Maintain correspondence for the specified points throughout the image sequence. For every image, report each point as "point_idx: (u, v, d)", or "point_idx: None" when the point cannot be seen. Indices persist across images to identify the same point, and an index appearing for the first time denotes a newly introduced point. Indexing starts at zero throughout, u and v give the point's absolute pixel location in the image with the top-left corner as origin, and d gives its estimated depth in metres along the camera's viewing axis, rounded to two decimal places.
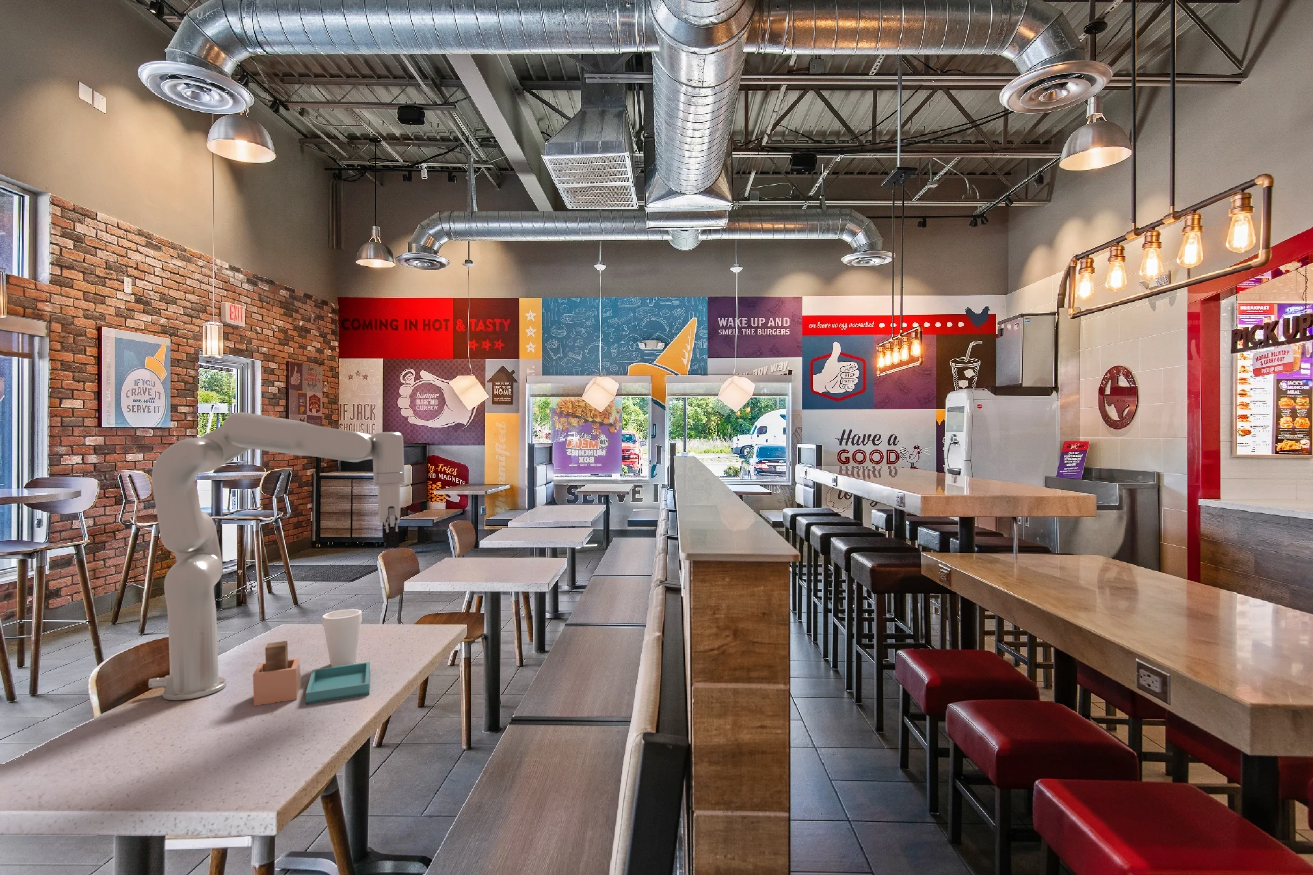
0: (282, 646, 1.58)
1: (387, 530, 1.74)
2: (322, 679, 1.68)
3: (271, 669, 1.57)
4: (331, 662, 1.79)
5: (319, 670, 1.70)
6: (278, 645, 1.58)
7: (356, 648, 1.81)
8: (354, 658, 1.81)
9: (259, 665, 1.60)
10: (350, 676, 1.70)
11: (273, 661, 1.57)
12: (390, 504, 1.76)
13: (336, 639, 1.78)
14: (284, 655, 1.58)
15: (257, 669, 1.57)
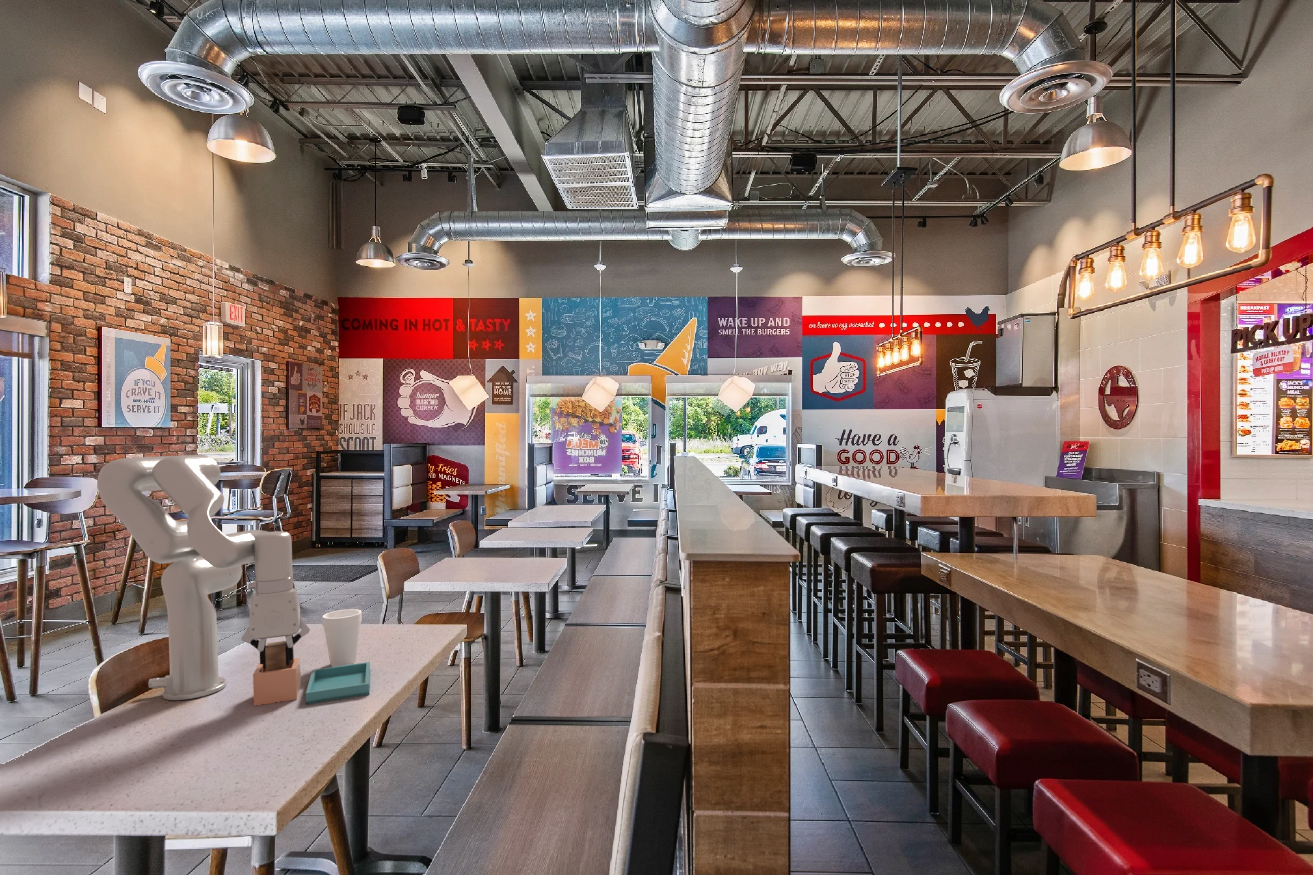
0: (282, 646, 1.58)
1: (293, 645, 1.60)
2: (322, 679, 1.68)
3: (271, 669, 1.57)
4: (331, 662, 1.79)
5: (319, 670, 1.70)
6: (278, 645, 1.58)
7: (356, 648, 1.81)
8: (354, 658, 1.81)
9: (259, 665, 1.60)
10: (350, 676, 1.70)
11: (273, 661, 1.57)
12: (299, 609, 1.61)
13: (336, 639, 1.78)
14: (284, 655, 1.58)
15: (257, 669, 1.57)
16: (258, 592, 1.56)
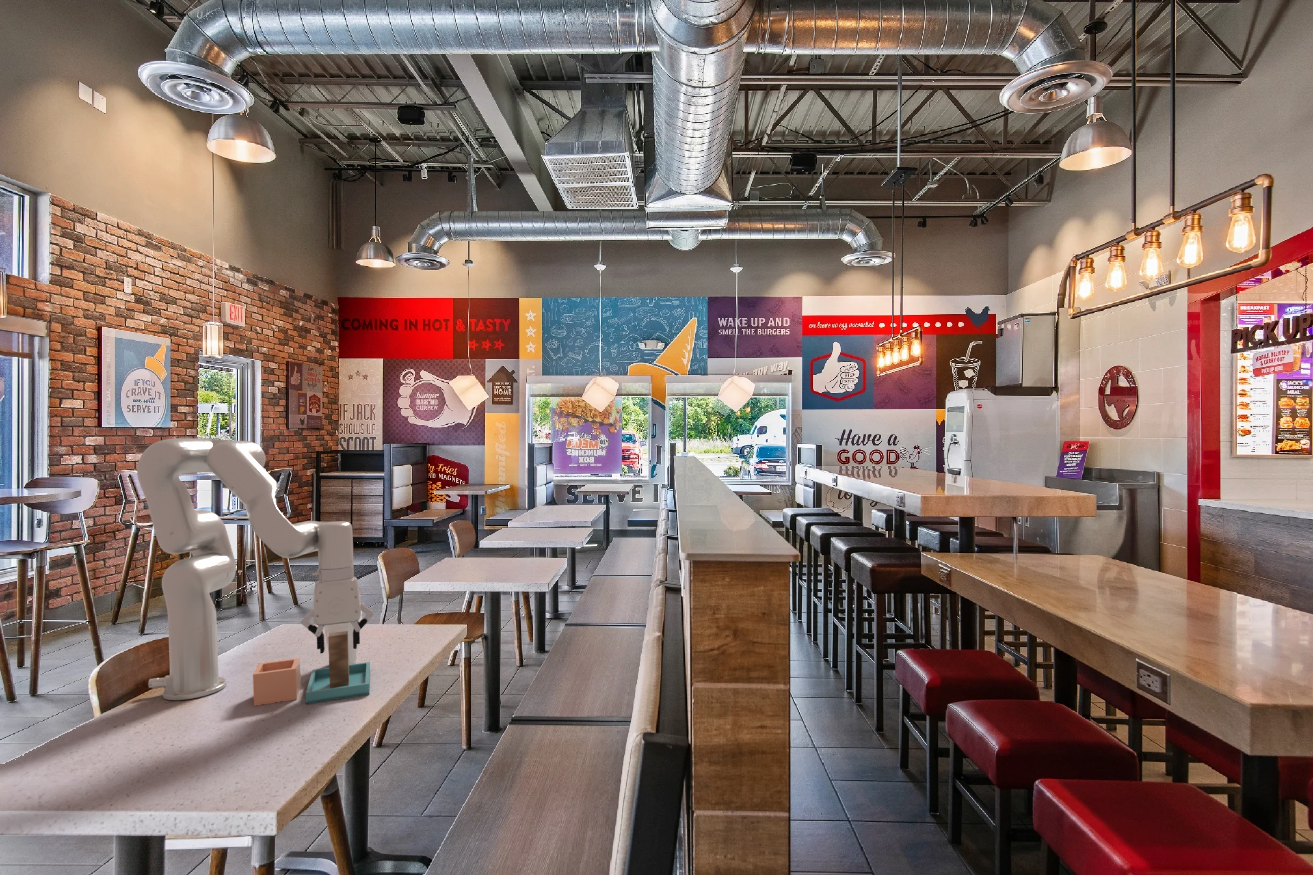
0: (344, 636, 1.63)
1: (360, 629, 1.65)
2: (322, 679, 1.68)
3: (334, 658, 1.62)
4: None
5: (319, 670, 1.70)
6: (340, 635, 1.63)
7: None
8: (354, 658, 1.81)
9: (259, 665, 1.60)
10: (350, 676, 1.70)
11: (335, 650, 1.62)
12: None
13: None
14: (346, 644, 1.63)
15: (257, 669, 1.57)
16: (322, 580, 1.61)
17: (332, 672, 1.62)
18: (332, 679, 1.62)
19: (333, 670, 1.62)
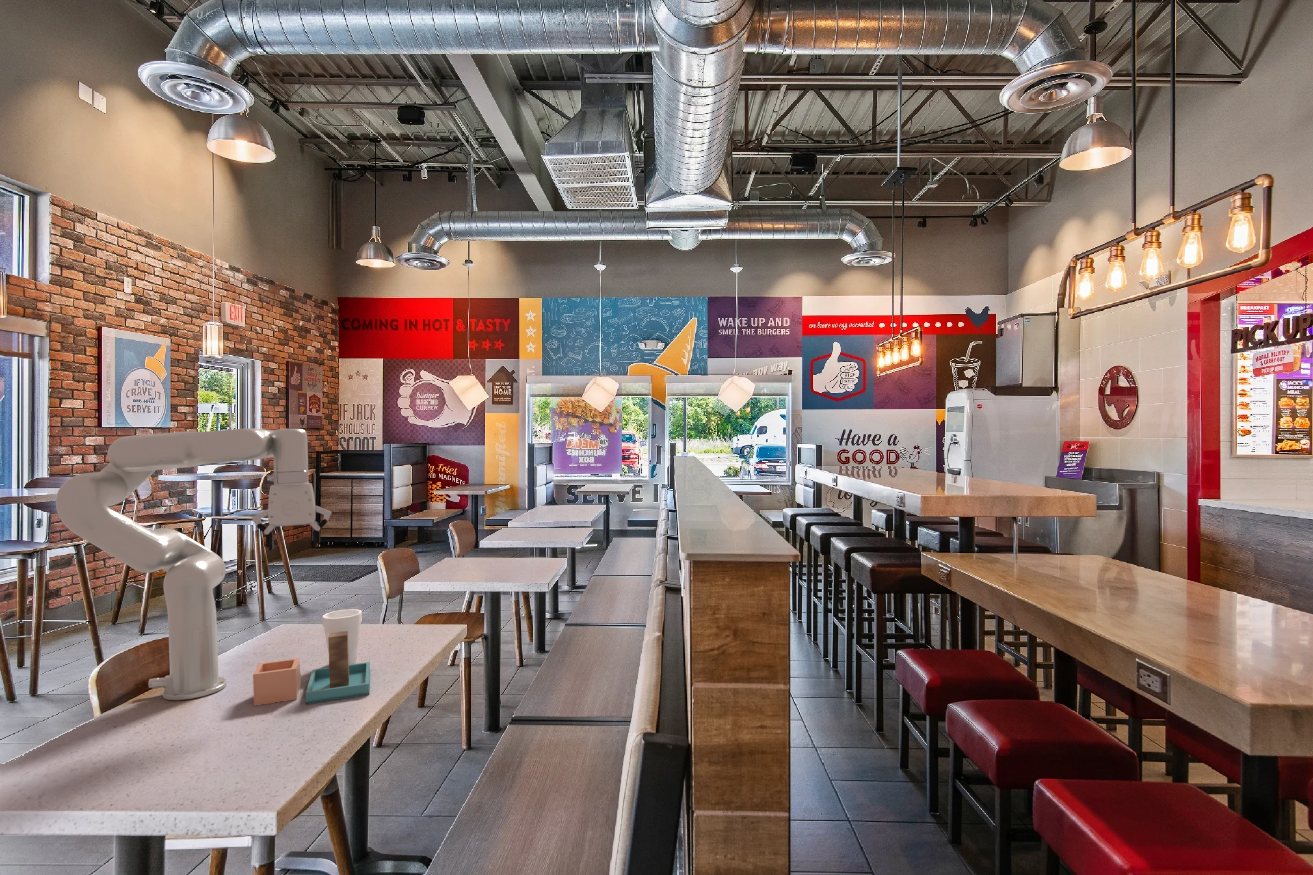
0: (344, 636, 1.63)
1: (320, 528, 1.72)
2: (322, 679, 1.68)
3: (334, 658, 1.62)
4: None
5: (319, 670, 1.70)
6: (340, 635, 1.63)
7: (356, 648, 1.81)
8: (354, 658, 1.81)
9: (259, 665, 1.60)
10: (350, 676, 1.70)
11: (335, 650, 1.62)
12: (314, 502, 1.72)
13: None
14: (346, 644, 1.63)
15: (257, 669, 1.57)
16: (276, 482, 1.67)
17: (332, 672, 1.62)
18: (332, 679, 1.62)
19: (333, 670, 1.62)
